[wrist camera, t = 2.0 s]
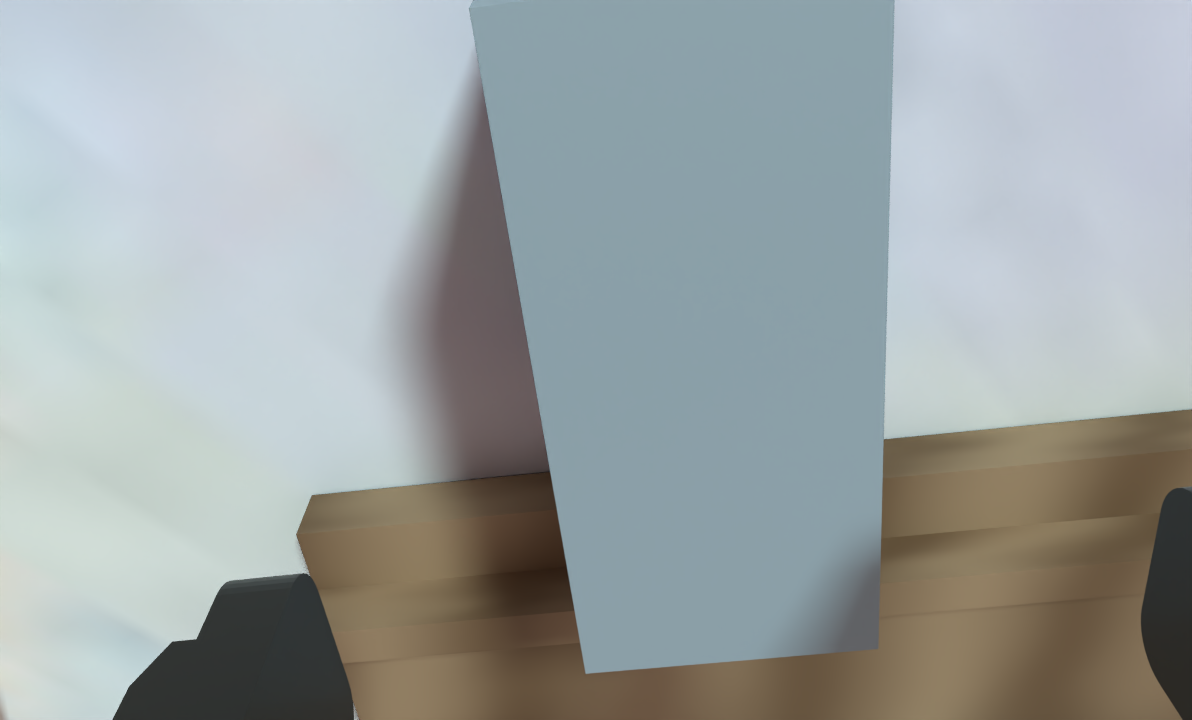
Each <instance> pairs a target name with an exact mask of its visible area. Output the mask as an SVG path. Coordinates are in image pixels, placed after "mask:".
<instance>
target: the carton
mask: <svg viewBox="0 0 1192 720" xmlns="http://www.w3.org/2000/svg"><path fill="white" fill-rule="evenodd" d="M469 11H470V17H471V23H472V28H473V34H474V40H475V46H476V51H477V57H478V63H479V68H480V74H481V80H482V85H483V91H484V97H485V103H486V108H487V114H488V120H489V125H490V131H491V137H492V143H493V148H494V154H495V160H496V165H497V171H498V177H499V182H500V188H501V194H502V200H503V205H504V211H505V217H506V222H507V228H508V234H509V239H510V245H511V251H512V257H513V262H514V268H515V274H516V279H517V285H518V291H519V297H520V302H521V308H522V314H523V319H524V325H525V331H526V336H527V342H528V348H529V354H530V359H531V365H532V371H533V376H534V382H535V388H536V393H537V399H538V405H539V411H540V416H541V422H542V428H543V433H544V439H545V445H546V451H547V456H548V462H549V468H550V473H551V479H552V485H553V490H554V496H555V502H556V508H557V513H558V519H559V525H560V530H561V536H562V542H563V547H564V553H565V559H566V565H567V570H568V576H569V582H570V587H571V593H572V599H573V605H574V610H575V616H576V622H577V627H578V633H579V639H580V644H581V650H582V656H583V662H584V667H585V673H586V674H589V673H600V672H612V671H624V670H636V669H648V668H660V667H671V666H683V665H695V664H707V663H719V662H731V661H743V660H754V659H766V658H778V657H790V656H802V655H814V654H825V653H837V652H849V651H861V650H873V649H878V644H879V604H880V564H881V523H882V483H883V443H884V402H885V362H886V322H887V281H888V241H889V200H890V160H891V120H892V79H893V39H894V0H473V2H472V4H471V6H470V7H469Z"/></svg>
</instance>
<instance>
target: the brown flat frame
mask: <svg viewBox="0 0 1192 720" xmlns="http://www.w3.org/2000/svg"><path fill="white" fill-rule="evenodd" d="M1191 486H1192V410H1182V411H1171V412H1161V413H1151V414H1141V415H1130V416H1120V417H1110V418H1100V419H1089V420H1079V421H1069V422H1059V423H1048V424H1038V425H1028V426H1018V427H1007V428H997V429H987V430H977V431H966V432H956V433H946V434H936V435H925V436H915V437H905V438H895V439H884V443H883V483H882V523H881V564H880V604H879V644H878V649H873V650H861V651H849V652H837V653H825V654H814V655H802V656H790V657H778V658H766V659H754V660H743V661H731V662H719V663H707V664H695V665H683V666H671V667H660V668H648V669H636V670H624V671H612V672H600V673H589V674H586V673H585V667H584V662H583V656H582V650H581V644H580V639H579V633H578V627H577V622H576V616H575V610H574V605H573V599H572V593H571V587H570V582H569V576H568V570H567V565H566V559H565V553H564V547H563V542H562V536H561V530H560V525H559V519H558V513H557V508H556V502H555V496H554V490H553V485H552V479H551V473H550V472H546V473H536V474H526V475H515V476H505V477H495V478H485V479H474V480H464V481H454V482H444V483H433V484H423V485H413V486H403V487H392V488H382V489H372V490H362V491H351V492H341V493H331V494H321V495H312V496H311V499H310V501H309V504H308V506H307V509H306V511H305V514H304V516H303V519H302V521H301V524H300V526H299V529H298V531H297V534H296V535H297V538H298V541H299V544H300V547H301V550H302V553H303V556H304V559H305V561H306V564H307V567H308V570H309V573H310V576H311V578H312V579H313V581H314V582H315V584H316V586H317V589H318V592H319V595H320V598H321V600H322V603H323V606H324V609H325V612H326V615H327V618H328V621H329V624H330V627H331V630H332V633H333V636H334V639H335V642H336V645H337V648H338V651H339V654H340V657H341V660H342V663H343V666H344V669H345V672H346V675H347V678H348V681H349V685H350V689H351V694H352V699H353V702H354V705H355V708H356V711H357V714H358V717H359V720H1182V718H1181V717H1180V715H1179V713H1178V712H1177V710H1176V709H1175V707H1174V706H1173V704H1172V703H1171V701H1170V700H1169V698H1168V696H1167V695H1166V693H1165V692H1164V690H1163V689H1162V687H1161V686H1160V684H1159V682H1158V681H1157V679H1156V677H1155V675H1154V673H1153V671H1152V669H1151V666H1150V664H1149V661H1148V659H1147V655H1146V652H1145V648H1144V644H1143V639H1142V633H1141V610H1142V604H1143V599H1144V594H1145V589H1146V583H1147V578H1148V573H1149V568H1150V563H1151V558H1152V553H1153V547H1154V542H1155V537H1156V532H1157V527H1158V522H1159V517H1160V512H1161V507H1162V504H1163V501H1164V499H1165V497H1166V495H1167V494H1168V493H1169V492H1170V491H1171V490H1173V489H1175V488H1181V487H1191Z"/></svg>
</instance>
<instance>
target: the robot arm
mask: <svg viewBox="0 0 1192 720" xmlns="http://www.w3.org/2000/svg"><path fill="white" fill-rule="evenodd" d="M1141 633H1142V639H1143V644H1144V648H1145V652H1146V655H1147V659H1148V661H1149V664H1150V666H1151V669H1152V671H1153V673H1154V675H1155V677H1156V679H1157V681H1158V682H1159V684H1160V686H1161V687H1162V689H1163V690H1164V692H1165V693H1166V695H1167V696H1168V698H1169V700H1170V701H1171V703H1172V704H1173V706H1174V707H1175V709H1176V710H1177V712H1178V713H1179V715H1180V717H1181V718H1182V720H1192V486H1191V487H1181V488H1175V489H1173V490H1171V491H1170V492H1169V493H1168V494H1167V495H1166V497H1165V499H1164V501H1163V504H1162V507H1161V512H1160V517H1159V522H1158V527H1157V532H1156V537H1155V542H1154V547H1153V553H1152V558H1151V563H1150V568H1149V573H1148V578H1147V583H1146V589H1145V594H1144V599H1143V604H1142V610H1141ZM113 720H354V711H353V700H352V694H351V689H350V685H349V681H348V678H347V675H346V672H345V669H344V666H343V663H342V660H341V657H340V654H339V651H338V648H337V645H336V642H335V639H334V636H333V633H332V630H331V627H330V624H329V621H328V618H327V615H326V612H325V609H324V606H323V603H322V600H321V598H320V595H319V592H318V589H317V586H316V584H315V582H314V581H313V579H312V578H311V577H310V576H309V575H308V574H304V573H303V574H293V575H283V576H273V577H263V578H253V579H243V580H233V581H229V582H226V583H225V584H224V585H223V586H222V587H221V588H220V590H219V592H218V593H217V595H216V598H215V600H214V602H213V604H212V606H211V609H210V611H209V613H208V615H207V617H206V620H205V622H204V624H203V626H202V628H201V631H200V633H199V635H198V637H197V639H196V640H186V641H175V642H172V643H171V644H170V645H169V646H168V647H167V648H166V649H165V650H164V651H163V652H162V653H161V654H160V655H159V656H158V657H157V658H156V659H155V660H154V661H153V662H152V663H151V664H150V665H149V667H148V668H147V669H146V670H145V671H144V672H143V673H142V674H141V675H140V676H139V677H138V678H137V679H136V680H135V681H134V682H133V683H132V684H131V685H130V686H129V688H128V690H127V692H126V694H125V696H124V698H123V700H122V702H121V704H120V706H119V708H118V710H117V712H116V714H115V716H114V718H113Z"/></svg>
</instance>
